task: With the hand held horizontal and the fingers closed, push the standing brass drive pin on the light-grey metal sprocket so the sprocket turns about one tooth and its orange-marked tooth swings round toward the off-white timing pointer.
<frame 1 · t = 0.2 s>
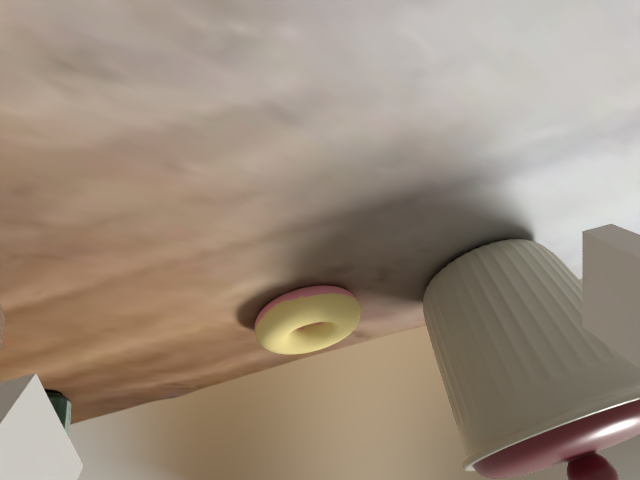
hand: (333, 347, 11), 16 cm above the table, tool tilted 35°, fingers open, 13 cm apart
coffee jar: (15, 403, 44), on the table
donut: (303, 304, 44), on the table
canister: (477, 268, 47), on the table
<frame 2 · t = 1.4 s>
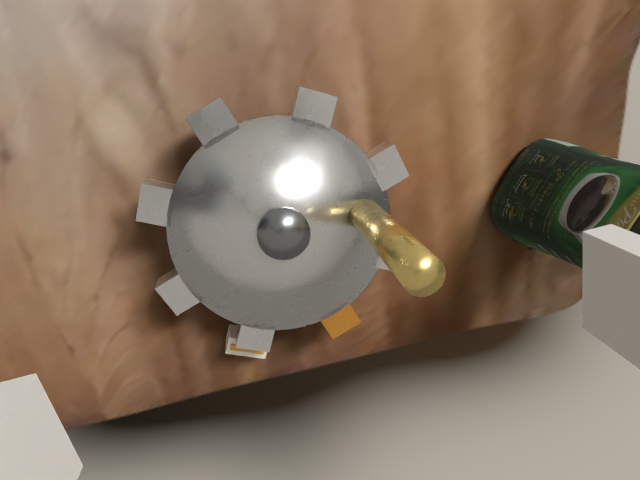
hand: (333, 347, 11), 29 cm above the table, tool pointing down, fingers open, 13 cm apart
pointer: (246, 334, 43), on the table
coffee jar: (532, 189, 44), on the table
sprocket: (290, 255, 30), point 10 cm above the table, hinge at 0.0°
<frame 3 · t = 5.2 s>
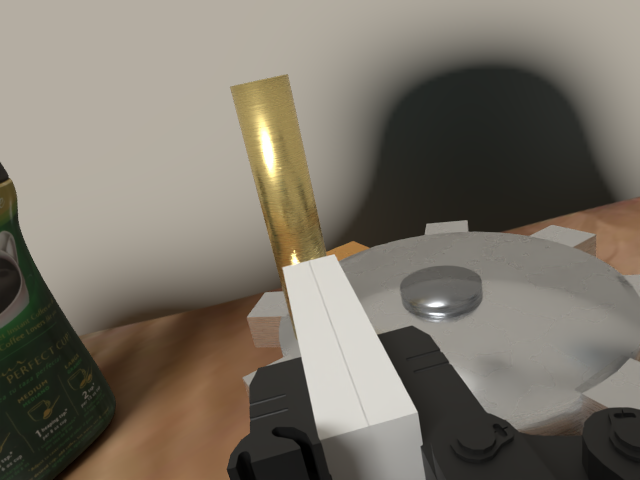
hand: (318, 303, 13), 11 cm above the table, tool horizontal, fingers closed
coffee jar: (31, 458, 26), on the table
sprocket: (430, 204, 22), point 10 cm above the table, hinge at 0.0°
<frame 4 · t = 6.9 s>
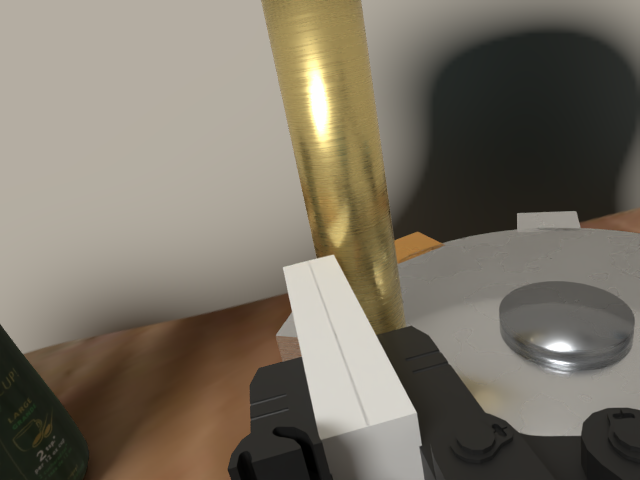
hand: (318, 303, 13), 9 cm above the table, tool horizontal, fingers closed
sprocket: (565, 194, 14), point 10 cm above the table, hinge at -4.6°, touching gripper
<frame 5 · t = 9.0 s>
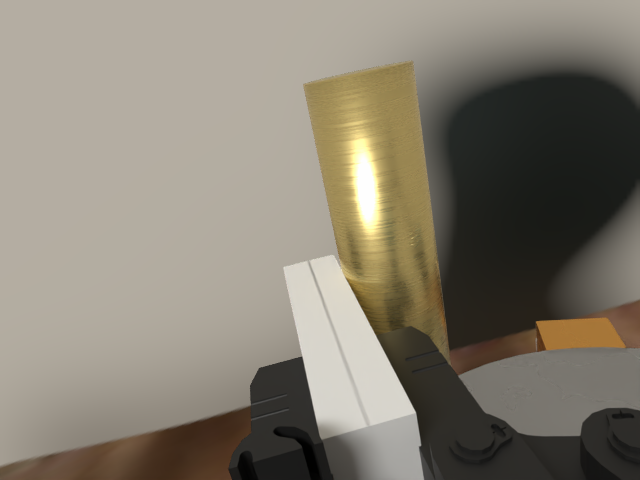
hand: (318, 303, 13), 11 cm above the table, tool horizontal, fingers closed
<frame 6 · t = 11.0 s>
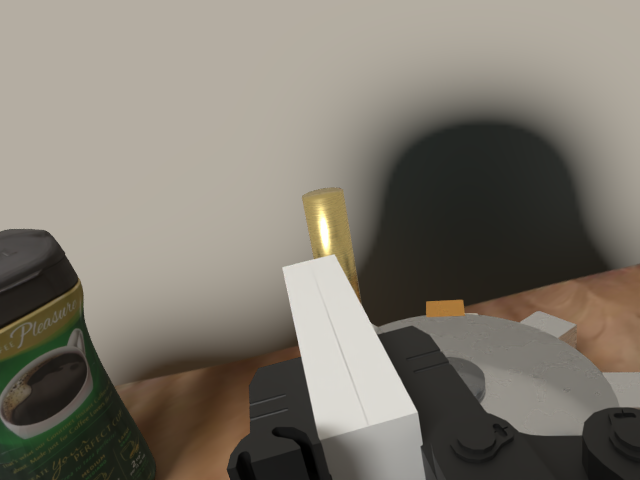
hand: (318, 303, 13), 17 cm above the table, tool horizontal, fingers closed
sprocket: (442, 314, 25), point 10 cm above the table, hinge at -41.7°
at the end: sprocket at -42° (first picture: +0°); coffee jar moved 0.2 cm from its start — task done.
